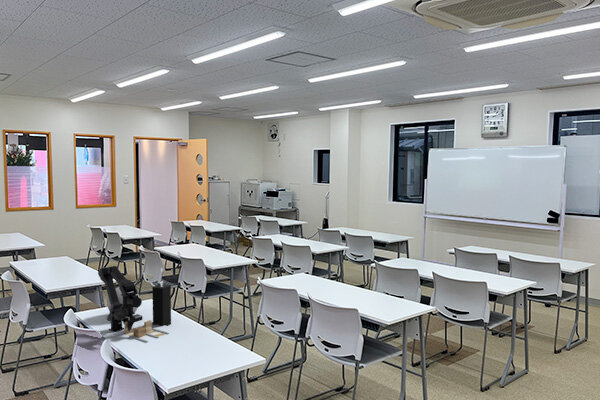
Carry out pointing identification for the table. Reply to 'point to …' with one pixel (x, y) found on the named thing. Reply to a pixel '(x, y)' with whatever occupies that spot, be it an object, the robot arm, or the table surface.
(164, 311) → the black rectangular block
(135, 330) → the cube
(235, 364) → the table surface
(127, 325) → the tan piece
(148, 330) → the strip broken
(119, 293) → the moon model
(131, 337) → the lane board
